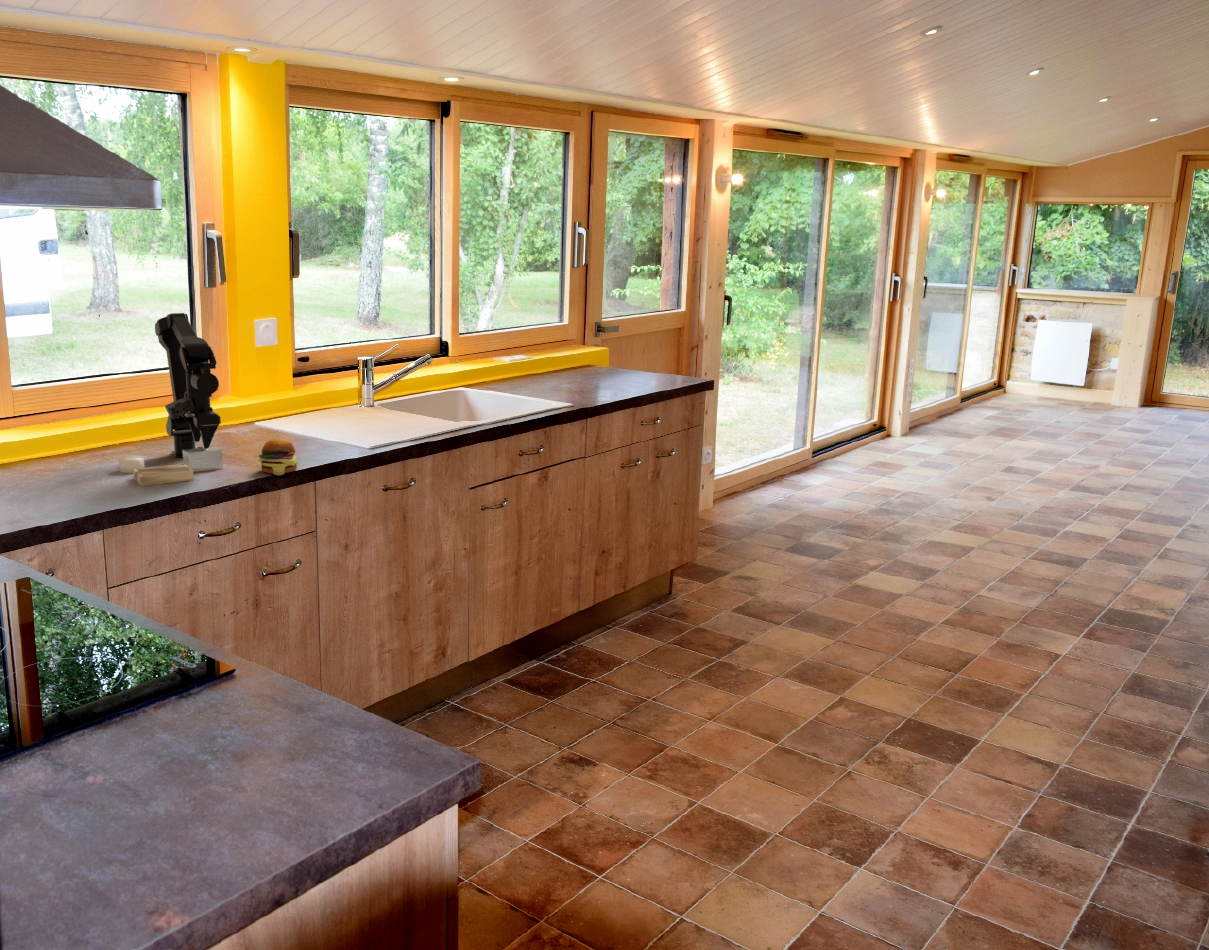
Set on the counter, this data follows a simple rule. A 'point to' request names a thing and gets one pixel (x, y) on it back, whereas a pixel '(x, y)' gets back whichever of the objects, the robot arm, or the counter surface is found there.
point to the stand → (163, 474)
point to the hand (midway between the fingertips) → (201, 444)
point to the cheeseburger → (278, 457)
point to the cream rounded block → (130, 463)
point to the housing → (203, 458)
